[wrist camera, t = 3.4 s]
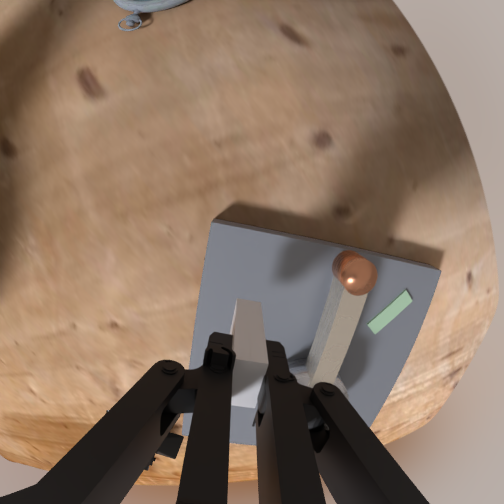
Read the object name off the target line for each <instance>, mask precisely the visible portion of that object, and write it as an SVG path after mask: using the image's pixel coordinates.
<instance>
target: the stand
mask: <svg viewBox="0 0 504 504" xmlns="http://www.w3.org/2000/svg"><path fill="white" fill-rule="evenodd" d="M346 250H352V251H355V252H357V253H358V254H360V255H361V256H363V257H364V258H366V259H367V260H369V261H370V262H371V263H373V264H374V265H375V267H376V269H377V274H378V277H377V281H376V284H375V286H374V287H373V289H372V290H371V291H369V292H368V295H367V298H366V301H365V304H364V307H363V310H362V312H361V315H360V318H359V321H358V324H357V326H356V329H355V332H354V335H353V337H352V340H351V342H350V345H349V348H348V350H347V353H346V355H345V358H344V360H343V362H342V365H341V367H340V370H339V372H338V373H339V375H340V378H341V380H342V382H343V384H344V386H345V388H346V390H347V392H348V396H349V402H350V403H351V405H352V406H353V407H354V409H355V410H356V411H357V412H358V414H359V415H360V416H361V418H362V419H363V420H364V421H365V423H366V424H367V425H368V427H369V428H370V426H371V425H372V423H373V421H374V420H375V418H376V416H377V415H378V413H379V411H380V410H381V408H382V406H383V404H384V403H385V401H386V399H387V397H388V395H389V394H390V392H391V390H392V388H393V386H394V384H395V382H396V380H397V378H398V376H399V374H400V373H401V370H402V368H403V366H404V364H405V362H406V360H407V358H408V356H409V354H410V352H411V349H412V347H413V345H414V343H415V340H416V338H417V336H418V333H419V331H420V329H421V326H422V324H423V321H424V319H425V316H426V314H427V311H428V308H429V306H430V303H431V300H432V298H433V295H434V292H435V289H436V286H437V283H438V280H439V277H440V274H441V270H439V269H437V268H435V267H433V266H431V265H429V264H424V263H420V262H416V261H412V260H408V259H403V258H399V257H395V256H391V255H386V254H382V253H378V252H373V251H369V250H364V249H360V248H355V247H351V246H346V245H342V244H337V243H332V242H328V241H323V240H319V239H314V238H309V237H304V236H300V235H295V234H290V233H285V232H280V231H275V230H270V229H265V228H260V227H255V226H250V225H245V224H240V223H235V222H230V221H225V220H219V219H213V221H212V222H211V227H210V233H209V239H208V244H207V250H206V256H205V262H204V268H203V274H202V280H201V287H200V293H199V300H198V306H197V313H196V320H195V327H194V334H193V341H192V349H191V357H190V364H189V370H190V369H196V368H199V367H201V366H202V365H203V359H204V353H205V349H206V348H207V345H208V340H209V336H210V335H211V334H212V333H213V332H219V333H225V334H230V330H231V325H232V320H233V315H234V310H235V305H236V300H237V298H239V299H244V300H250V301H256V302H261V307H262V315H263V323H264V331H265V339H266V340H271V341H278V342H280V343H281V344H282V345H283V346H284V348H285V352H286V357H287V361H288V362H289V361H292V360H296V359H301V358H308V355H309V352H310V349H311V347H312V344H313V341H314V338H315V335H316V332H317V329H318V326H319V323H320V319H321V316H322V313H323V310H324V307H325V303H326V300H327V297H328V294H329V290H330V287H331V283H332V280H333V276H334V275H333V273H332V264H333V261H334V259H335V257H336V256H337V255H338V254H339V253H341V252H343V251H346ZM257 408H258V404H256V407H255V408H248V407H240V406H233V405H231V420H230V442H229V443H236V444H246V445H256V423H255V426H254V427H253V426H252V424H253V421H254V418H255V415H256V411H257ZM192 415H193V413H184V418H183V428H182V435H184V436H189V431H190V425H191V420H192Z"/></svg>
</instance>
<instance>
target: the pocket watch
mask: <svg viewBox="0 0 504 504" xmlns="http://www.w3.org/2000/svg"><path fill="white" fill-rule="evenodd" d="M187 1H189V0H114V2H115V3H116V4H117V5H118V6H119V7H121V8H123V9H125V10H129V11H133V12H134V13H133V14H131V15H129V16H127V17H126V18H124V19H122V20H121V21H120V22H119V23H118V27H119V29H121V30H124V31H133V30H136V29H138V28H139V27H140V26H141V25H142V21H141V20H140V19H141V18H140V17H139V16H138V14H139V13H140V12H141V13H147V12H156V11H162V10H166V9H169V8H172V7H175V6H178V5H180V4H183V3H185V2H187ZM123 20H125V21H127V22H126V24H127V25H128V26H133V25H134V24H135V23H138V22H139V21H140V25H139V26H138V27H136V28H133V29H124V28H121V27H120V23H121V22H122V21H123Z"/></svg>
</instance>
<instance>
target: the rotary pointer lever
mask: <svg viewBox="0 0 504 504" xmlns="http://www.w3.org/2000/svg"><path fill="white" fill-rule="evenodd" d="M332 273H333V275H334V276H333V280H332V283H331V287H330V290H329V294H328V297H327V300H326V303H325V307H324V310H323V313H322V316H321V319H320V323H319V326H318V329H317V332H316V335H315V338H314V341H313V344H312V347H311V349H310V352H309V355H308V358H301V359H296V360H292V361H289V362H288V366H289V370H290V372H291V373H292V374H293V375H295V377H296V379H297V382H298V383H299V384H301V385H304V386H307V387H311V388H313V387H314V385H315V384H316V383H319V382H327V383H331V384H333V385H335V386H337V387H338V388H339V389H340V390H341V392H342V393H343V394H344V396H345V397H346V398H347V399H348V401H349V396H348V392H347V390H346V388H345V386H344V384H343V382H342V380H341V378H340V375H339V373H338V372H339V370H340V367H341V365H342V362H343V360H344V358H345V355H346V353H347V350H348V348H349V345H350V342H351V340H352V337H353V335H354V332H355V329H356V326H357V324H358V321H359V318H360V315H361V312H362V310H363V307H364V304H365V301H366V298H367V295H368V292H369V291H371V290H372V289H373V287H374V286H375V284H376V281H377V277H378V274H377V269H376V267H375V265H374V264H373V263H371V262H370V261H369V260H367V259H366V258H364V257H363V256H361V255H360V254H358V253H357V252H355V251H352V250H346V251H343V252H341V253H339V254H338V255H337V256H336V257H335V259H334V261H333V264H332ZM327 427H328V426H327Z"/></svg>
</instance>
